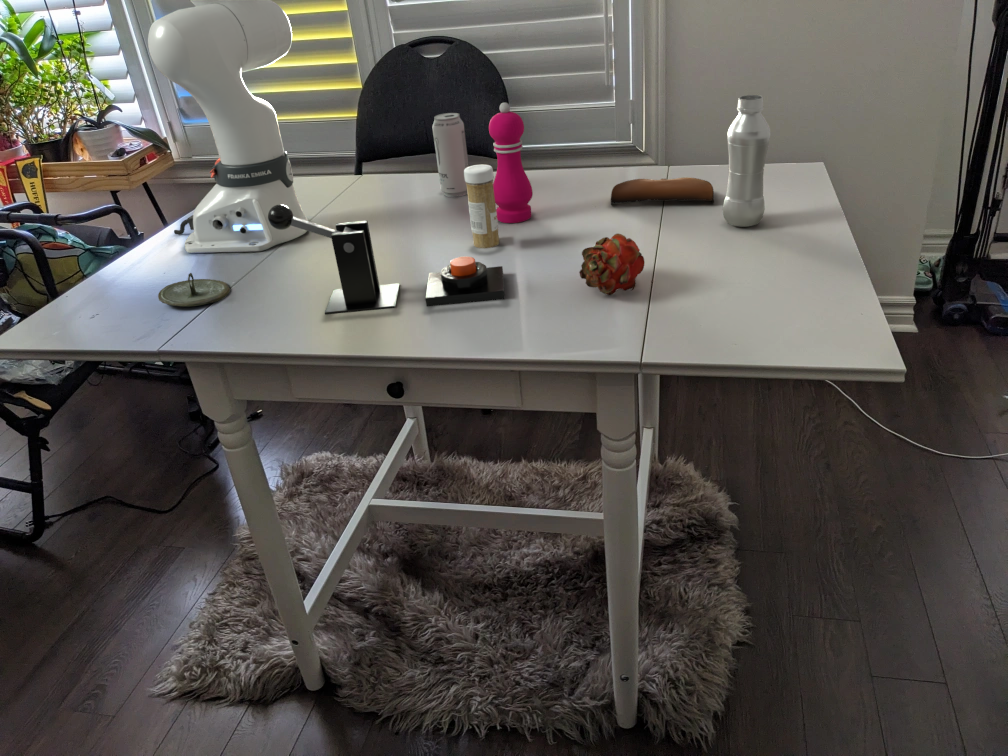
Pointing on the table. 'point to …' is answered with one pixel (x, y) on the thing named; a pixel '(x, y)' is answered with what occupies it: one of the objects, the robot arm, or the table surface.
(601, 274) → the dragon fruit
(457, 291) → the button block
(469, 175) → the spice jar
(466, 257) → the button
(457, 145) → the energy drink can
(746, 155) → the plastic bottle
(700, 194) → the sunglasses case
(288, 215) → the lever
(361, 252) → the switch bracket
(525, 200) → the pepper mill
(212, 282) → the metal shank button
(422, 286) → the table surface
